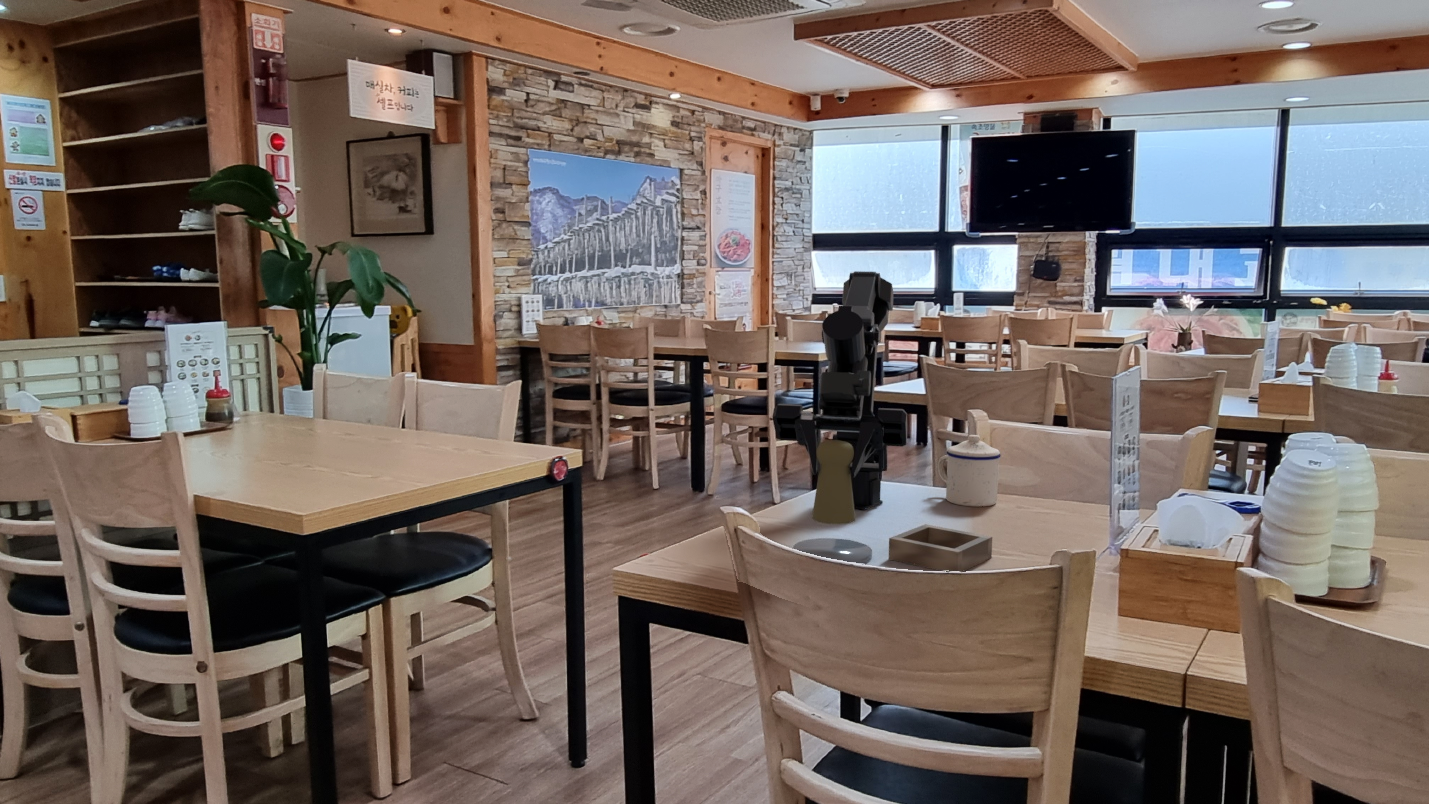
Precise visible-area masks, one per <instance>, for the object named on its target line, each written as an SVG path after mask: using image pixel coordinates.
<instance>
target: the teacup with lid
mask: <svg viewBox="0 0 1429 804" xmlns="http://www.w3.org/2000/svg"><path fill="white" fill-rule="evenodd" d="M1001 456H1002V455H1001V452H1000V450H999V449H997V448H996V447H991V446H990V445H989V444H988V443H986V442H984V441H982V440H981V437H980V435H977V434H969V435H968V437H967V440H963V441H962V442H960V443H958V444H956V445H951V446H949V447H948V448H947V450H946V455H943V456H941V457H940V458H939V460H938V462H937V470H938V474H939V476H940V478H941V480H942V481H943V482H944V483H946V489H945V491H946V492H945V499H946V500H947V502H949V503H952V504H955V505H958V506H963V507H964V506H965V507H978V508H979V507H980V508H981V507H982V506H983V507H990V506H993V505H995V504H996V503H997V501H998V488H999V485H998V484H999V465H1000V458H1001ZM946 460H947V463H946V464H947V465H946V466H947V467H946V469H947V470H946V471H945V462H946Z"/></svg>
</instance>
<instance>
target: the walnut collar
mask: <svg viewBox="0 0 1429 804" xmlns="http://www.w3.org/2000/svg"><path fill="white" fill-rule="evenodd" d="M992 552H993V536H989V535H985V534H979V533H975V532H969V531H965V530H964V531H963V530H957V529H953V528H947V527H941V526H936V525H933V524H932V525H931V524H927V523H925V524H922V525H920V526H917V527H915V528H912V529H909V530H906V531H904V532H902V533H899V534H897V535H893V536H891V537H889V538H888V560H890V561H896V562H900V563H905V564H909V565H913V566H917V567H922V568H928V569H931V568H932V570H937V571H940V570H949V571H963V570H965V571H967V570H969V569H971V568H973V567H976V566H977V565H979V564H981V563H984V562H986V561H988V560H990V559H992V555H993V554H992ZM963 572H964V571H963Z"/></svg>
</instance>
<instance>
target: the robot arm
mask: <svg viewBox="0 0 1429 804" xmlns="http://www.w3.org/2000/svg"><path fill="white" fill-rule="evenodd" d="M893 310H894V288H893V283H891V282H890V281H888V280H887V279H884V278H882V277H881V274H880V272H877V271H861V270H860V271H853V272H850V273H849V277H848V279H846V280H845V282H843V288H842V305H838V309H837V310H835V311H833V312H832V313H830V314H828V315H827V316H826V317H825V318H824V320H823V321H822V325H821V327H822V330H821V339H822V344H823V345H824V352H825V357H826V359H827V361H828V364H827V365H828V366H827V371H824V372H821V373H820V384H819V394H818V395H819V400H818V408H819V411H820V410H821V412H820V414H816V413H815V412H814V411H811V410H810V411H809V410H804V408H803V404H794V403H793V404H791V403H778V404H776V406H775V407H774V408H773V412H772V423H773V426H774V432H775V437H776V439H778V440H779V441H790V442H797V444H798V446H801V447H802V446H803V447H805V450H806V452H807V455H808V458H809V461H810V465H811V470H812V474H813V475H814V476H816V475H817V472H818V467H819V462H818V460H817V456H816V451H817V447H818V446H819V440H818V434H817V433H818V430H820V431H823V432H836V433H833V434H832V439H831V440H840V441H845V442H848V443H850V444H851V445H852V447H853V449H854V458H853V461H852V463H851V464H850V473H851V483H852V492H853V502H854V509H857V510H867V509H870V508H873V507H877V506H880V505H882V504H883V500H881V487H882V486H881V481H882V480H881V478H880V476H879V475H880V473H883V472H887V471H888V447H900V448H901V447H902V448H903V447H904V446H906V445H907V444H908V443H907V441H908V413H907V412H906V411H905V409H903V408H887V407H886V408H884V407H882V408H881V407H879V408H878V409H877V417H876V416H875V414H874V399H875V388H876V387H875V385H876V384H875V383H876V371H877V359H878V358H877V357H878V356H877V355H878V346H879V342H880V341H881V340H882V331H883V330H884V329H885V328H886V326H887V325H888V323H889V318H890V317H889V316H890V315H889V314H890V312H892V311H893ZM876 462H878V463H876Z"/></svg>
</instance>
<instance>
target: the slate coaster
mask: <svg viewBox="0 0 1429 804" xmlns="http://www.w3.org/2000/svg"><path fill="white" fill-rule="evenodd" d="M793 548H794V549H797V550H799V551H802V552H806V553H810V554H814V555H817V556H821V557H826V558H831V559H837V560H843V561H847V562H856V563H865V564H867V563H869V562H871V560H872V559H873V550H872V547H870V546H869V545H867V544H866V543H862V542H859V541H855V540H852V539H845V538H844V539H843V538H830V537H828V538H827V537H825V538H822V537H821V538H819V537H818V538H811V539H809V538H808V539H804V540H801V541H798V542H796V543H795V544H794V545H792V549H793Z"/></svg>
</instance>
